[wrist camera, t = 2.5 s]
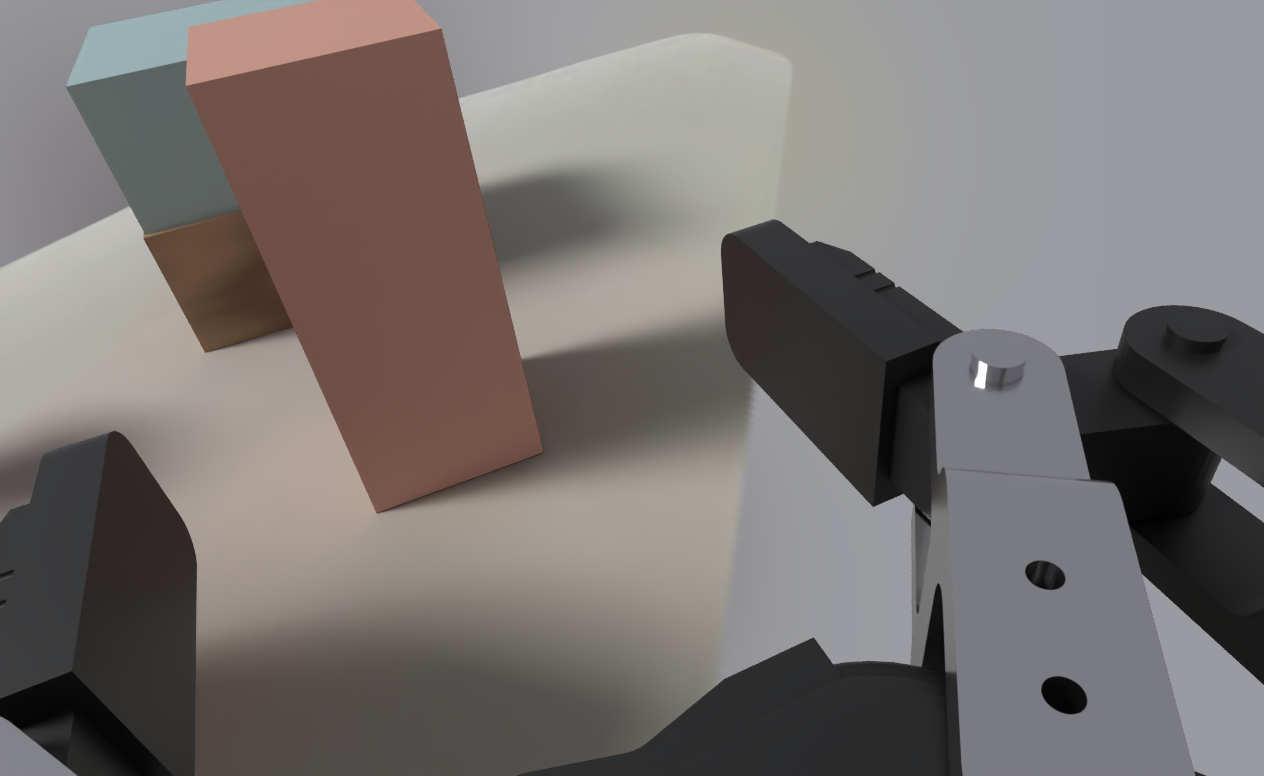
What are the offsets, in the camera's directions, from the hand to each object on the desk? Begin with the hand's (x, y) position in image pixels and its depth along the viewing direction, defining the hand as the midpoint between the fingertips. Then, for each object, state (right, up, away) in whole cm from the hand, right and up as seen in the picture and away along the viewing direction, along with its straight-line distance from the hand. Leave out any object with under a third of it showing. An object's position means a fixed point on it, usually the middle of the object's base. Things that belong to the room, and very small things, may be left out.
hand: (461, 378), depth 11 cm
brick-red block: (-4, -1, +15) cm, 15 cm away
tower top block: (-12, +9, +21) cm, 25 cm away
